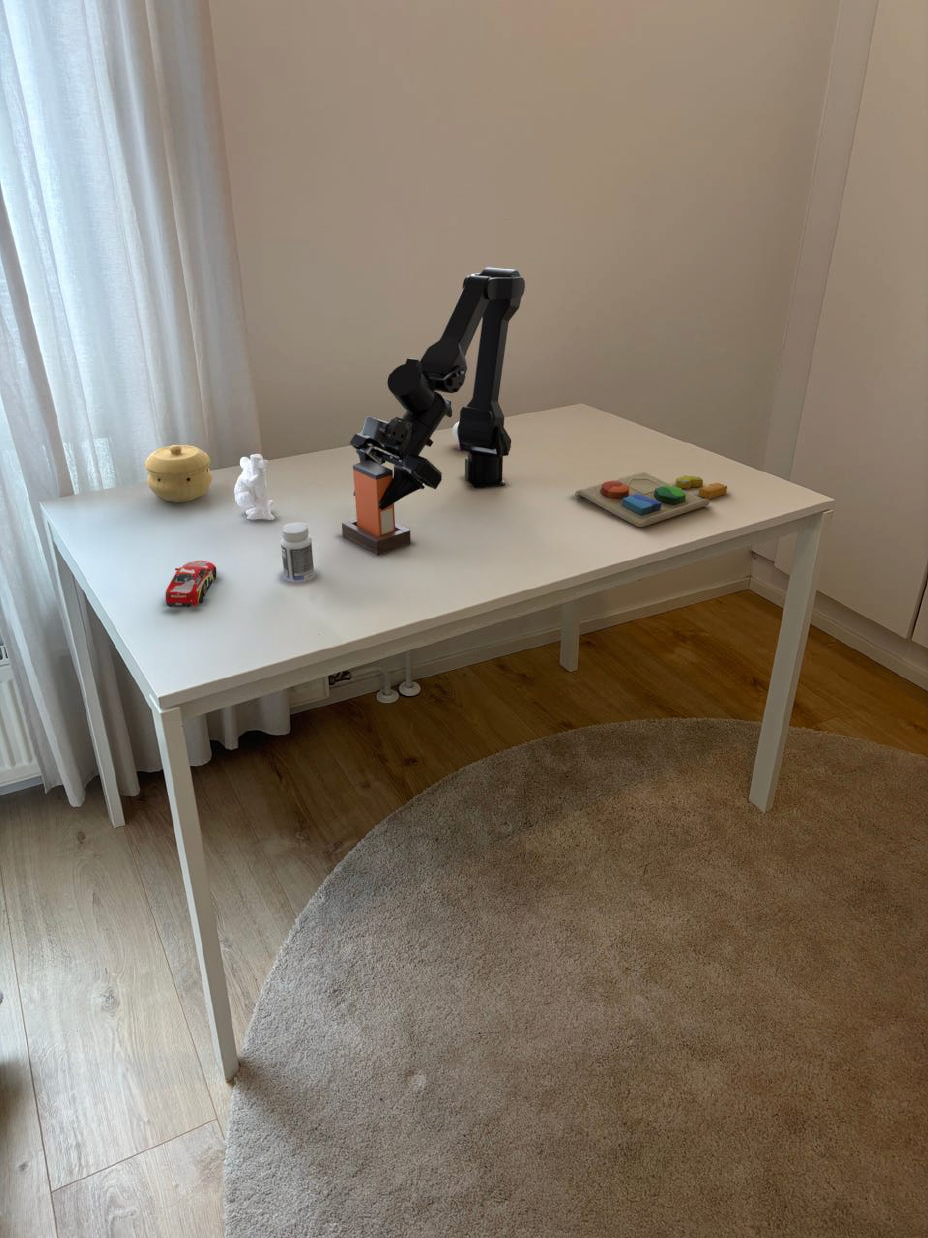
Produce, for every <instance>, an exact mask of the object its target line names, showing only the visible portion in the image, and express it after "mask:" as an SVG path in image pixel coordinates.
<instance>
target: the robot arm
mask: <svg viewBox="0 0 928 1238" xmlns="http://www.w3.org/2000/svg"><path fill="white" fill-rule="evenodd" d="M525 290H526V280H525V278H524V277H522V276H521V273H520V271H519V270H517V269H508V268H499V267H484V268H483V269H482V271H481V272H478V273H471V274H469V275H467V276H465V278H464V279H463V282H462V290H461V293H460V295H459V297H458V299H457V302H456V304H455V306H454V308H453V311H452V313H451V315H450V317H449V319H448V321H447V323H446V325H445V328H444V331H443V332H442V334H441V336H440V338H439V340H438V341H436V342H434V343H433V344H431V345H430V346H428V347H427V349H426V351H424V353H423V355H422V357H421V358H420V360H419V359H418V358H410V357H407V358H406V361H405V362H404V363H403V364H400V365H399V366H397V367H395V368H394V369H393V370H392V372H390V373H389V375H388V377H387V389H388V390H389V391H390V393H391V394H392V395H393V397H394V398H395V399H396V400H397V401H398V403H399V404H400V405H401V406H402V407H403V409H404V410H406V411H405V412H404V413H403V415H402V417H398V416H395V417H393V418H392V419H391V420H390V421H385V420H382V419H380V418H376V417H373V416H371V415H366V417H365V420H364V423H363V427H362V430H361V432H357V433H354V435H353V436H352V438H351V439H350V440H349V445H350V446H351V447H352V448H353V449H355V453H356V454H357V455H358V458H359V459H358V460H359V463H361V462H364V461H368V460H370V461H373V462H375V463H377V464H379V465H384V464H385V463H386V462H387V463H389V464H391V465H393V479H392V481H391V483H390V484H389V486H388V488H387V489H386V491H385V493H384V495H383V496H382V498H381V500H380V502H379V504H378V508H380V509H381V510H384V509H385V508H387V507H389V506H390V505H392V504H393V503H394V504H395V503H397V502H398V501H400V500H402V499H403V498H406V497H407V496H409V495H411V494H412V493H415V492H417V491H418V490H424V489H425V488H426V487H428V488H430V489H433V490H437V488H438V487H439V485H440V484H441V482H442V477H443V476H442V474H443V472H441V470H439V469H438V468H437V467H436V466H435V465H434V464H433V463H432V462H431V461H430V460H429V459H428V458H426V457H423V456H421V455H420V454H421V453H422V451H423V450H424V448H425V447H426V446H427V447H429V448H431V447H432V445H433V444H434V441H433V440H432V439H431V437H432V435H433V434H434V433H435V431H436V429H437V428H438V426H439V425H440V424H441V422H442V420H443V419H444V418H445V417H448V418H452V416H453V408H452V401H451V400H450V399H448V398H446V397H444V396H443V395H442V394H441V393H447V394H455V393H458V392H459V391H460V389H461V388H462V387H463V385H464V383H465V380H466V373H467V371H468V365H467V360H466V355H467V353H468V350H469V347H470V345H471V344H472V341H473V339H474V336H475V334H476V332H477V330H478V328H479V326H480V323H481V326H480V327H481V328H480V334H479V343H478V350H477V359H476V366H475V367H476V368H475V374H474V375H475V376H474V381H473V382H474V383H473V388H472V389H473V390H472V396H471V397H472V398H471V399H470V401H469V402H468V403H467V405H466V406H462V407H461V409H460V411H459V421H458V422H459V424H458V428H457V435H458V440H459V443H458V445H459V447H460V449H459V451H461V452H466V453H467V457H465V459H464V479H465V480H466V482H468V483H469V484H470V486H471V487H472V488H473V489H479V488H489V487H500V486H501V487H502V486H505V485H506V482H505V480H504V479H503V470H504V469H503V468H504V467H503V465H504V457H507V456H509V455H510V451H511V448H512V438H511V437H510V435H509V434H508V431H507V430H506V429H505V415H504V412H503V410H502V408H501V405H500V403H499V397H500V389H501V383H502V374H503V367H504V360H505V359H504V358H505V352H506V344H507V337H508V329H509V323H510V321H511V319H512V318H513V316H515V314H516V313H517V312H518V310H519V309H520V306H521V302H522V297H523V296H524V294H525ZM353 490H354V491H353V496H354V497H355V489H353Z"/></svg>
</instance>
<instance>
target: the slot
mask: <svg viewBox="0 0 928 1238" xmlns="http://www.w3.org/2000/svg"><path fill="white" fill-rule="evenodd" d="M341 532H342V533H341V534H342V538H345V539H347V540H348V541H350V542H352V543H354V544H356V545H358V546H359V547H361V548H364V549H365V550H367V551H369V552H371V553H372V554H375V555H376V556H379V555H382V554H385V553H388V552H391V551H393V550H397V549H399V548H402V547H405V546H408V545H411V542H412V541H411V529H409V528H407V527H405V526H403V525H401V524H399V523H396V522H395V532H393V533H390V534H387V535H384V536H381V537H379V538H378V537H377V536H375V535H373V534H371V533H369V532H367V531H365V530H363V529H361V528H359V527H357V518H354V519H350V520H347V521H344V522H342V523H341Z"/></svg>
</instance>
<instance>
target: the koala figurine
mask: <svg viewBox="0 0 928 1238" xmlns="http://www.w3.org/2000/svg"><path fill="white" fill-rule="evenodd" d="M268 463H269V460H268V459H264V458H263V456H262V454H260V453H254V454H253V453H252V454H250V456H249V457H248V456H242V457H241V458H240V461H239V465H240V468H241V469H242V472H241V474H240V475H239V476H238V478H237V480H236V483H235V485H234V488H233V489H234V490H233V491H234V500H235V502H236V503H237V505H238V506H239V507H241V508H247V507H253V508H249V509H247V510H246V511H245V513H246V515H247V517H246V519H247V520H270V521H272V520H273V521H274V520H275V516H274V515H273V514H272V513H271V511H272V510H271V508H272V506H273V505H274V501H273V500H271V499H269V495H268V489H267V484H268V482H267V481H268V480H267V478H266V473H267V470H266V469H267V465H268Z"/></svg>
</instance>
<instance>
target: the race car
mask: <svg viewBox="0 0 928 1238" xmlns="http://www.w3.org/2000/svg"><path fill="white" fill-rule="evenodd" d="M174 570H175V573H174V575H173V577H172V579H171V580H170V583H169V584H168V586H167V588H166V590H165V605H166V606H167V607H170V608H173V607H174V608H190V607H191V608H192V607H193V608H194V607H196V606H199V605H201V604H203V602H204V597H205V596H206V595H207V593H208V591H209V589H210V588H211V586H212V584H213V582H214V581H216V579H217V567H216V565H215V564H214V563H213V562H210V561H207V560H194V561H188V562H187V563H184V564H183V565H182V566H180V567H175V568H174Z"/></svg>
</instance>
